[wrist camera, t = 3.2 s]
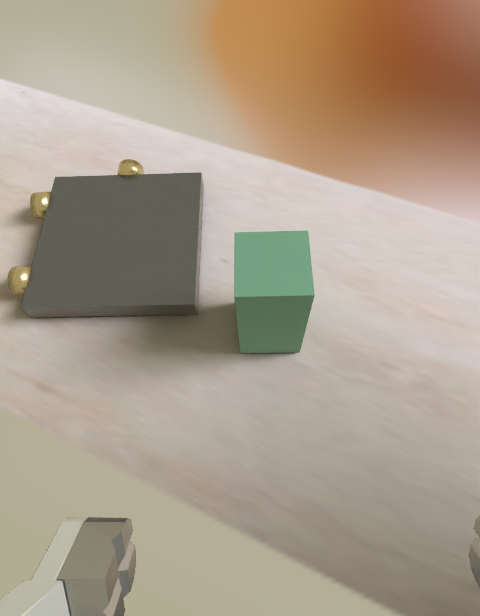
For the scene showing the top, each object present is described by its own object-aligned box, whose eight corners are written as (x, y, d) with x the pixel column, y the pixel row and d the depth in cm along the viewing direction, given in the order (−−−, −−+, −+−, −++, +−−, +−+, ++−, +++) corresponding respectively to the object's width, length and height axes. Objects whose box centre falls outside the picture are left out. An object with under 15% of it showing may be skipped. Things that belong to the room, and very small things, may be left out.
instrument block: (295, 292, 30) (307, 221, 23) (299, 352, 28) (314, 295, 21) (239, 293, 30) (234, 223, 23) (240, 353, 28) (234, 297, 21)
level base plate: (204, 175, 35) (201, 157, 34) (197, 314, 29) (193, 300, 28) (51, 179, 36) (41, 162, 34) (14, 317, 30) (-1, 305, 28)
